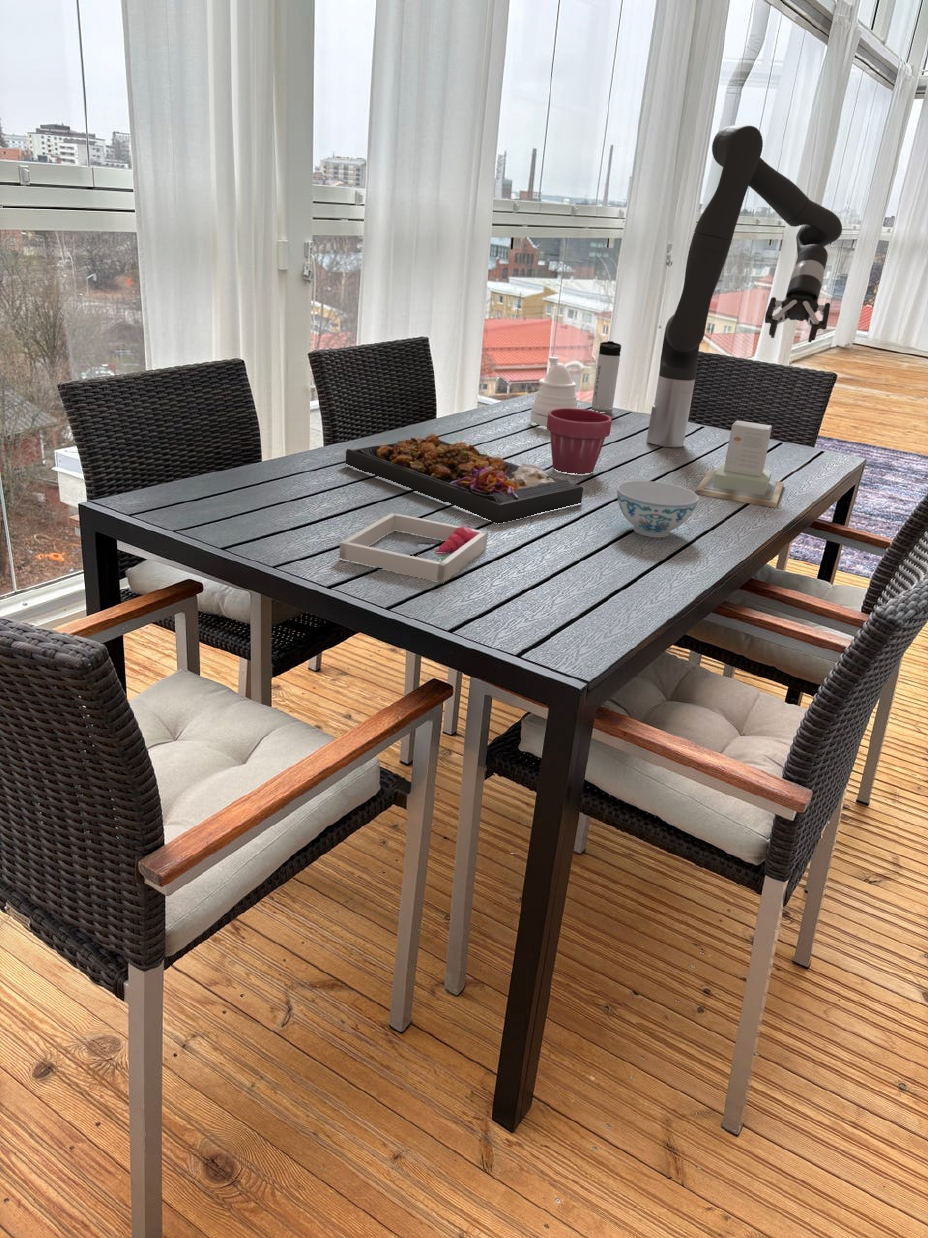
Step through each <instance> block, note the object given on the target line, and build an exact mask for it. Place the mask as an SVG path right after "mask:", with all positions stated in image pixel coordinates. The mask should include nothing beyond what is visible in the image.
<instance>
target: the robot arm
mask: <svg viewBox="0 0 928 1238" xmlns="http://www.w3.org/2000/svg"><path fill="white" fill-rule="evenodd" d="M763 144H764V141H763V136H762V133H761V131H760V130H759V129H758V128H757V127H756V126H753V125H750V124H749V125H747V124H744V125H743V124H742V125H741V124H738V125H737V124H734V125H733V124H732V125H728V126H725V127H723V128H721V129H720V130H718V132H717V133H716V134H715V136H714V138H713V141H712V144H711V151H712V156H713V159H714V161H715V162H716V163H717V164H718V165H719V166H721V167H722V170H721V174H720V178H719V182H718V184H717V188H716V190H715V192H714V194H713V196H712V197H711V199H710V201H709V202H708V204H707V206H706V207H705V209H704V210H703V212H702V214H701V216H700V217H699V220H698V221H697V223H696V225H695V229H694V231H693V235H692V237H691V241H690V245H689V248H688V249H689V251H688V254H687V258H686V266H685V273H684V283H683V287H682V291H681V292H682V293H681V295H680V297H679V301H678V304H677V307H676V309H675V312H674V314H673V315H671V316H670V318H669V319H668V320H667V323H666V325H665V328H664V335H663V340H662V347H661V355H660V361H659V362H660V363H659V371H658V379H657V383H656V390H655V396H654V405H652V406H651V411H650V417H649V423H648V429H647V430H648V431H647V436H646V443H648V444H653V445H654V444H655V446H658V445H659V447H665V448H681V447H684V443H685V439H686V432H687V427H688V422H689V418H690V417H689V416H690V411H691V405H692V399H693V394H694V387H695V381H696V376H697V371H698V358H699V353H700V352H699V350H700V344H701V343H702V341H703V339H704V337H705V333H706V328H707V321H708V316H709V312H710V307H711V302H712V299H713V295H714V293H715V290H716V288H717V285H718V283H719V280H720V277H721V274H722V272H723V270H724V266H725V263H726V261H727V257H728V255H729V252H730V248H731V245H732V241H733V239H734V234H735V231H736V226H737V224H738V220H739V217H740V215H741V210H742V207H743V203H744V200H745V197H746V194H747V191H748V189H749V187H750V188H751V189H752V190H753V191H754V192H755V193H756V194H758V196H760V197H761V198H762V199H763V200H764V201H765V203H766V204H767V205H769V206H770V207H771V208H772V209H773V210H774V212H776V214H777V215H778V216H779V217H780V218H781V219H783V221H784V222H785V223H786V224H787V225H789V227H799V226H801V227H800V228H799V229H798V231H797V232H796V233H797V234H796V237H795V238H796V240H795V241H796V250H797V252H796V253H797V258H796V260H795V264H794V268H793V270H792V273H791V275H790V279H789V284H788V286H787V290H786V294H785V297H784V299H783V300H777V298H776V297H775V296H773V297H771V298H770V301H769V302H768V307H767V309H766V312H765V314H764V315H765V316H764V323H765V324H769V331H768V335H769V336H770V338H771V339H774V338H775V336H776V332H777V328H778V325H779V324H781V323H785V322H786V321H787V320H788V319H789V320H790V321H799V322H804V321H805V322H806V324H807V325H808V326H810V331H809V334H808V341H807V342H808V343H812V341H815V340H816V339H817V338H816V337H817V333H818V331H819V330H824V331H825V330H826V329H827V327H828V326H827V325H828V321H829V314H830V309H831V303H830V302H826V303H825V304H819V303H818V301H819V298H820V294H821V290H822V287H823V282H824V277H825V276H824V275H825V271H826V266H827V262H828V257H829V254H828V250H827V249H826V247H825V246H828V245H830V244H832V243H834V242H835V241H837V240H839V238H840V236H841V235H842V232H843V225H842V222H841V219H840V218H839V216H838V215H836V214H835V213H834V212H833V211H831V210H829V209H828V208H827V207H824V206H822V205H820V204H819V203H817V202H814V201H813V200H811V199H810V198H809V197H808V196H807V194H805V193H804V192H803V191H802V190H801V189H800V188H799V186H797V185H796V184H795V183H794V182H793V181H791V180H790V178H788V177H786V176H785V175H783V174H782V173H781V172H779V171H777V170H776V169H775V168H773V167H772V166H770V165H769V164H768V163H767V162H766V161H765V160H764V159H763V158H762V157H761V156H762V153H763V152H762V151H763V147H764V145H763ZM779 308H781V309H780V310H779V312H777V313H775V314H774V312H775V311H777V310H778V309H779ZM817 312H819V314H820V315H821V316H822V320H819V319H818V318H817V315H816V313H817ZM773 314H774V315H773Z"/></svg>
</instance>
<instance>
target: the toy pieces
mask: <svg viewBox="0 0 928 1238" xmlns="http://www.w3.org/2000/svg"><path fill="white" fill-rule="evenodd" d="M471 529H472V528H470V529H469V527H466V526H460V527H458V528H457V529H456V530H455V531H454V532H453V534H451V535H450V536H449V538H448V540H446V541H445V542H442V544H441V545H440V547H439V549H437V550H435V552H446V553H447V552H450V553H454V551H457V550H458V549H459V548H461V547H462V546H463V545H465V544H466V542H465V541H467V542H469V541H470V540H471V539H472V538H474V537H475V536H476V535H475V534H474V532H473V531H472V530H471ZM424 545H428V546H430V545H431V544H424ZM452 551H453V552H452ZM414 553H415V552H414ZM415 554H416V553H415ZM418 554H419V553H418ZM418 554H417V555H418ZM441 557H442V558H441V560H442V561H443V560H445V559H446V558H447V557H448V556H447V557H446V556H441Z"/></svg>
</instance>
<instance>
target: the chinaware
mask: <svg viewBox="0 0 928 1238" xmlns="http://www.w3.org/2000/svg"><path fill="white" fill-rule="evenodd" d="M616 496H617V500H618V505H619V508H620V511H621V513H622V514H623V516H624V517H625V519H626V520H627V521H628V522H629V523H630V525H632V526H633V527H632V528H633V531H634V532H635V533H637V534H639V535H641V536H643V537H649V538H665V537H668V536H669V535H670V532H671V531H673V530H675V529H678V528H679V527H680V526H682V525H684V523H686V522H687V521H688V519H689V518H690V517H691V516H692V514H693V513H694V511H695V509H696V507H697V506H698V503H699V498H700V497H699V494H696V493H695V492H694V491H693V490H690V489H688V488H685V487H683V486H679V485H676V484H671V483H666V482H662V481H661V482H660V481H650V480H630V481H624V482H622V483H619V484H618V486H617V487H616Z"/></svg>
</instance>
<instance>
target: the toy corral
mask: <svg viewBox="0 0 928 1238" xmlns="http://www.w3.org/2000/svg"><path fill="white" fill-rule="evenodd" d="M458 527H461V526H460V525H455V524H450V523H444V522H441V521H435V520H429V519H424V518H420V517H416V516H410V515H405V514H401V513H395V512H390V513H389V514H387V515H385V516H383V517H382V518H380V519H378V520H377V521H375V522H373V523H372V524H370V525H368V526H366V527H365V528H363V529H361V530H360V531H358V532H356V533H354V534H352V535H351V536H349V537H347V538H345V539H344V540H342V541H341V542H339V558H342V559H345V560H349V561H355V562H359V563H363V564H368V565H371V566H375V567H379V568H383V569H387V570H390V571H395V572H399V573H402V574H403V573H404V574H407V575H411V576H415V577H420V578H423V579H422V580H424V579H428V580H427V581H429V580H433V581H438V582H441V583H440V584H442V583H443V584H445V583H446V582H447V581H448V580H449V579H451V578H452V577H453V576H454V575H456V574H457V573H458V572H459V571H461V570H462V569H463V568H464V567H466V566H467V565H468V564H469V563H470V562H469V561H471V562H472V561H473V560H474V559H476V558H477V557H478V556H480V555H481V554H482V553H483V552H484V551H486V550H487V545H488V534H489V532H488V531H485V530H484V531H483V530H480V529H479V530H478V529H473V528H469V527H468V528H469V529H471V530H472V531H473V532H474V534H475V535H476V536H475V537H474V538H472V539H471V540H470V541H469V542H467V541H465V542H466V544H465V545H463V546H462V547H461V548H459V549H458V550H457V551H455V552H452V553H451V554H449V555H448V556H447V558H446V559H445V560H443V561H442V562H438V561H437V560H432V559H427V558H423V557H422V558H421V557H419V556H417V557H415V556H414V555H412V556H410V554H405V553H400V552H396V551H395V552H394V551H391V550H386V549H383V548H382V549H381V548H378V547H372V546H370V547H369V546H368V545H370V544H372V543H373V542H375V541H376V540H378V539H379V538H381V537H382V536H384V535H386V534H387V533H389V532H390V531H393V530H398V531H405V532H409V533H414V534H418V535H422V536H427V537H431V538H437V539H441V540H445V541H446V540H448V538H449V536H450V535H451V534H453V532H454V531H455V530H456V529H457V528H458ZM481 552H482V553H481ZM475 557H476V558H475ZM339 558H338V559H339ZM468 562H469V563H468ZM467 563H468V564H467ZM466 564H467V565H466ZM465 565H466V566H465ZM463 566H464V567H463ZM462 567H463V568H462ZM461 568H462V569H461ZM460 569H461V570H460ZM458 570H459V571H458ZM457 571H458V572H457ZM456 572H457V573H456ZM455 573H456V574H455ZM402 574H401V575H402ZM453 574H454V575H453ZM452 575H453V576H452ZM411 576H410V577H411ZM451 576H452V577H451ZM415 577H414V578H415ZM450 577H451V578H450ZM420 578H419V579H420ZM448 578H449V579H448ZM447 579H448V580H447ZM446 580H447V581H446ZM433 581H432V582H433ZM445 581H446V582H445ZM444 582H445V583H444Z"/></svg>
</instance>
